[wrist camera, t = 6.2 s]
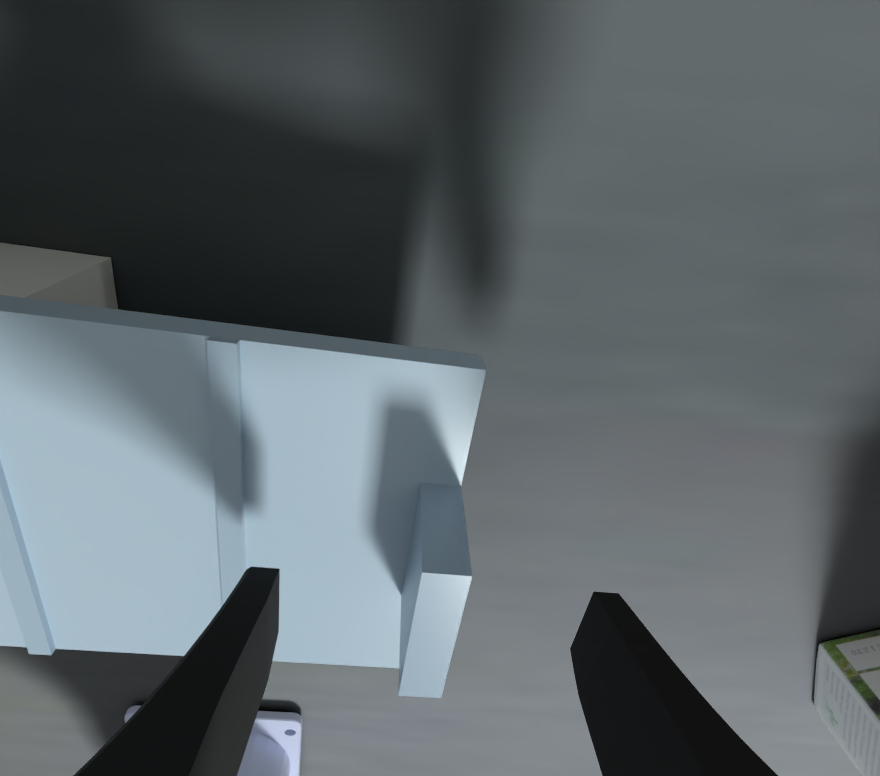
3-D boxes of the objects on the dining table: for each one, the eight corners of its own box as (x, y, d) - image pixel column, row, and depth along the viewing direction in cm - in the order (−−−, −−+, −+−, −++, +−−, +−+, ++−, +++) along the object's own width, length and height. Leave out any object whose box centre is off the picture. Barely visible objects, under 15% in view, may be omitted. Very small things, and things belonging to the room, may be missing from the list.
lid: (420, 645, 17) (422, 771, 13) (-142, 611, 15) (-293, 746, 12) (481, 355, 12) (506, 442, 9) (-335, 252, 10) (-681, 315, 7)
